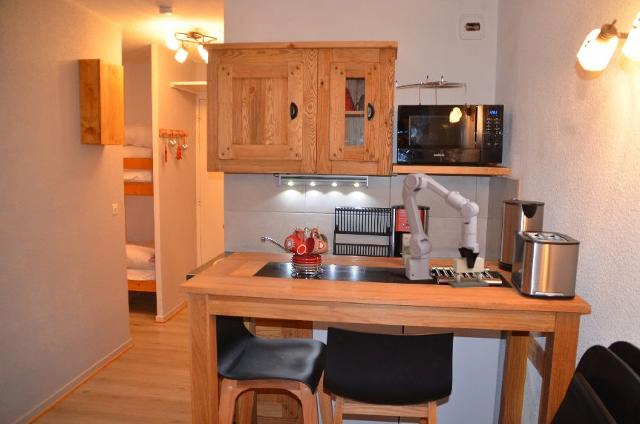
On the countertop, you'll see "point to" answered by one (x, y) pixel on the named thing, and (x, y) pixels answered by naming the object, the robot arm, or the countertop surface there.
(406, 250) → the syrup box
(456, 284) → the peg stand
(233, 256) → the countertop surface
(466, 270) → the beige rectangular block
